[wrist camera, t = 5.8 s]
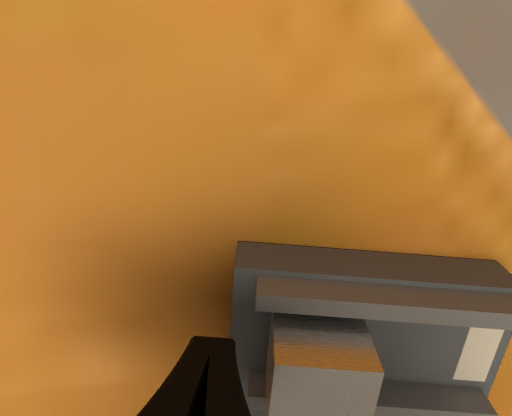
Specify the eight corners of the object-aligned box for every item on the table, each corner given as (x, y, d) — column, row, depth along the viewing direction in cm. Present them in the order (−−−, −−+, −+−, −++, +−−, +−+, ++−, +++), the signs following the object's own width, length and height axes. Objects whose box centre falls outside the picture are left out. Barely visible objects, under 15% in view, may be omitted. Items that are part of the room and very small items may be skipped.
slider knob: (265, 371, 14) (265, 442, 11) (272, 303, 13) (274, 364, 10) (346, 377, 14) (364, 449, 12) (360, 310, 13) (384, 372, 10)
